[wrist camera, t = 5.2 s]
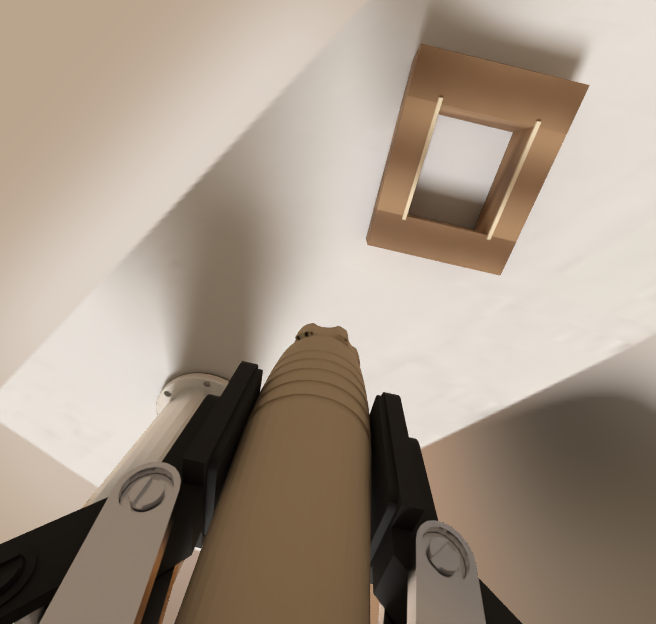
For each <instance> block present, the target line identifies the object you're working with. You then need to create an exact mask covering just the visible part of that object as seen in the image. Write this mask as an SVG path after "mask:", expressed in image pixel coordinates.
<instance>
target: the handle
mask: <svg viewBox="0 0 656 624" xmlns="http://www.w3.org/2000/svg"><path fill="white" fill-rule="evenodd" d="M371 465H372V451H371V431H370V417H369V408H368V401H367V395H366V390H365V385H364V381H363V377H362V373H361V369H360V360H359V355H358V352H357V350H356V348H354V347H353V346H351V344H350V343H349V341H348V334H347V331H346V330H345V329H343V328H342V327H340V326H337V327H333V328H325V327H320V326H317V325H316V324H314V323H311V324H307V325H305V326H304V327H302V328H301V330H300V331H299V332H298V334H297V336H296V341H295V343H293V344H292V345H291V346H290V347H289V348H288V349H287V350H286V351H285V352H284V353H283V355H282V356H281V357H280V359H279V360H278V362H277V364H276V365H275V367H274V368H273V370H272V371H271V373H270V375H269V377H268V379H267V380H266V383H265V384H264V386H263V388H262V390H261V392H260V394H259V396H258V398H257V400H256V402H255V404H254V407H253V409H252V411H251V413H250V416H249V418H248V420H247V423H246V426H245V427H244V430H243V432H242V435H241V438H240V441H239V443H238V446H237V449H236V452H235V454H234V457H233V460H232V463H231V466H230V469H229V472H228V474H227V477H226V480H225V483H224V486H223V489H222V492H221V494H220V497H219V500H218V503H217V506H216V509H215V511H214V514H213V517H212V520H211V523H210V526H209V529H208V531H207V534H206V537H205V540H204V543H203V546H202V549H201V551H200V554H199V557H198V560H197V563H196V565H195V568H194V571H193V574H192V576H191V579H190V582H189V585H188V587H187V590H186V593H185V596H184V598H183V601H182V604H181V607H180V610H179V612H178V615H177V618H176V620H175V623H174V624H370V548H371Z"/></svg>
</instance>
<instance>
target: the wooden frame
mask: <svg viewBox="0 0 656 624" xmlns="http://www.w3.org/2000/svg"><path fill="white" fill-rule="evenodd" d="M588 87H589V85H586V84H582V83H578V82H574V81H570V80H566V79H562V78H558V77H554V76H550V75H546V74H542V73H538V72H533V71H529V70H525V69H521V68H517V67H513V66H509V65H505V64H501V63H497V62H493V61H489V60H485V59H481V58H477V57H473V56H469V55H465V54H461V53H457V52H452V51H448V50H444V49H440V48H436V47H432V46H428V45H424V44H421V46H420V48H419V50H418V51H417V53H416V55H415V57H414V59H413V62H412V66H411V70H410V74H409V78H408V81H407V85H406V89H405V93H404V97H403V100H402V104H401V108H400V112H399V116H398V119H397V123H396V127H395V131H394V134H393V138H392V142H391V146H390V150H389V153H388V157H387V161H386V165H385V169H384V172H383V176H382V180H381V184H380V188H379V191H378V195H377V199H376V203H375V207H374V210H373V214H372V218H371V222H370V225H369V229H368V233H367V237H366V241H367V245H371V246H375V247H379V248H384V249H388V250H392V251H397V252H401V253H405V254H409V255H414V256H418V257H422V258H427V259H431V260H435V261H440V262H444V263H448V264H453V265H457V266H461V267H466V268H470V269H474V270H479V271H483V272H487V273H492V274H496V275H501V273H502V271H503V269H504V267H505V264H506V262H507V260H508V258H509V256H510V254H511V252H512V250H513V247H514V245H515V243H516V241H517V239H518V237H519V235H520V233H521V230H522V228H523V226H524V224H525V222H526V220H527V218H528V215H529V213H530V211H531V209H532V207H533V205H534V203H535V201H536V198H537V196H538V194H539V192H540V190H541V188H542V186H543V183H544V181H545V179H546V177H547V175H548V173H549V171H550V169H551V166H552V164H553V162H554V160H555V158H556V156H557V154H558V151H559V149H560V147H561V145H562V143H563V141H564V139H565V137H566V134H567V132H568V130H569V128H570V126H571V124H572V122H573V119H574V117H575V115H576V113H577V111H578V109H579V107H580V105H581V102H582V100H583V98H584V96H585V94H586V92H587V90H588ZM438 114H440V115H444V116H448V117H452V118H456V119H460V120H465V121H469V122H473V123H477V124H481V125H485V126H489V127H493V128H498V129H502V130H506V131H510V132H513V135H512V137H511V140H510V142H509V145H508V147H507V150H506V152H505V154H504V157H503V159H502V162H501V164H500V167H499V169H498V172H497V174H496V177H495V179H494V182H493V184H492V187H491V189H490V192H489V194H488V196H487V199H486V201H485V204H484V206H483V209H482V211H481V214H480V216H479V219H478V221H477V224H476V226H475V229H474V230H472V229H468V228H464V227H460V226H455V225H451V224H447V223H443V222H438V221H434V220H430V219H426V218H421V217H417V216H413V215H408V211H409V207H410V204H411V201H412V198H413V194H414V191H415V188H416V185H417V182H418V178H419V175H420V172H421V169H422V165H423V162H424V159H425V156H426V152H427V149H428V146H429V143H430V139H431V136H432V133H433V130H434V127H435V123H436V120H437V117H438Z"/></svg>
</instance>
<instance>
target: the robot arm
mask: <svg viewBox="0 0 656 624" xmlns="http://www.w3.org/2000/svg"><path fill="white" fill-rule="evenodd" d="M262 374H263V370H261V369H258V364H253V363H248V362H244V361H242V362H241V363H240V365H239V366H238V368H237V370H236V371H235V373H234V375H233V376H232V378H231V380H230V381H227V380H225V379H222V378H220V377H218V376H214V375H210V374H203V373H192V374H186V375H182V376H179V377H177V378H175V379H173V380H172V381H171V382H169V383H168V384H167V385H166V386H165V387H164V388H163V390H162V391H161V393H160V394H159V396H158V399H157V403H156V411H157V415H158V416H157V417H156V419H155V420H154V421H153V422H152V423H151V425H150V426H149V427H148V428H147V430H146V431H145V432H144V433H143V434H142V436H141V437H140V438H139V439H138V441H137V442H136V443H135V444H134V445H133V447H132V448H131V449H130V450H129V451H128V453H127V454H126V455H125V456H124V458H123V459H122V460H121V461H120V462H119V464H118V465H117V466H116V467H115V468H114V470H113V471H112V472H111V473H110V475H109V476H108V477H107V478H106V479H105V481H104V482H103V483H102V484H101V485H100V487H99V488H98V489H97V490H96V492H95V493H94V494H93V495H92V497H91V498H90V499H89V500H88V501H87V503H86V504H85V505H84V506H83V507H82V509H80V510H77V511H75V512H73V513H70V514H68V515H66V516H64V517H61V518H59V519H57V520H55V521H52V522H50V523H48V524H45V525H43V526H41V527H39V528H36V529H34V530H32V531H29V532H27V533H25V534H23V535H20V536H18V537H16V538H13V539H11V540H9V541H7V542H4V543H2V544H0V624H162V623H163V619H164V616H165V612H166V608H167V605H168V601H169V598H170V594H171V591H172V587H173V584H174V582H175V580H176V577H177V575H178V573H179V570H180V568H181V566H182V564H183V562H184V560H185V559H186V558H188V557H189V556H191V555H192V553H193V550H194V548H195V547H198V548H202V545H203V543H204V540H205V537H206V534H207V531H208V529H209V526H210V523H211V520H212V517H213V514H214V511H215V509H216V506H217V503H218V500H219V497H220V494H221V492H222V489H223V486H224V483H225V480H226V477H227V474H228V472H229V469H230V466H231V463H232V460H233V457H234V454H235V452H236V449H237V446H238V443H239V441H240V438H241V435H242V432H243V430H244V427H245V426H246V423H247V420H248V418H249V416H250V413H251V411H252V409H253V407H254V404H255V402H256V400H257V398H258V396H259V394H260V388H261V381H262ZM369 417H370V431H371V451H372V465H371V548H370V584H373V593H374V595H375V596H376V597H377V599H378V600H379V602H380V606H379V618H378V624H522V623H521V622H520V621H519V620H518V619H517V618H516V617H515V616H514V615H513V613H511V611H510V610H509V609H508V608H507V607H506V606H505V605H504V604H503V603H502V602H501V601H500V600H499V599H498V598H497V597H496V596H495V595H494V594H493V593H492V591H490V589H489V588H488V587H487V586H486V585H485V584H484V583H483V582H482V581H481V580H480V579H479V578H478V572H477V566H476V562H475V559H474V556H473V553H472V551H471V549H470V547H469V545H468V543H467V542H466V541H465V540H464V538H463V537H462V536H461V535H460V534H459V533H458V532H457V531H456V530H455V529H454V528H452V527H451V526H449V525H447V524H445V523H444V522H440V521H438V518H437V515H436V510H435V506H434V502H433V498H432V494H431V490H430V486H429V482H428V478H427V473H426V469H425V465H424V461H423V457H422V454H421V449H420V445H419V442H418V441H417V439H414V438H410V437H409V436H408V431H407V426H406V422H405V417H404V412H403V408H402V403H401V398H400V396H399V395H395V394H390V393H385V392H383V394H382V395H381V396H380V395H377V396H376V398H375V401H374V404H373V407H372V409H371V412H370V415H369Z"/></svg>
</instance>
